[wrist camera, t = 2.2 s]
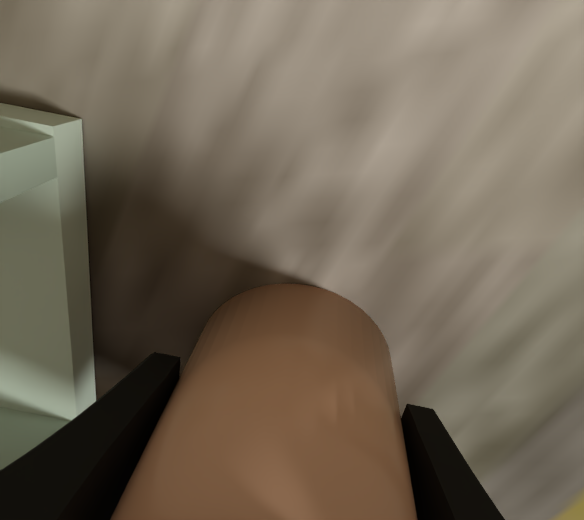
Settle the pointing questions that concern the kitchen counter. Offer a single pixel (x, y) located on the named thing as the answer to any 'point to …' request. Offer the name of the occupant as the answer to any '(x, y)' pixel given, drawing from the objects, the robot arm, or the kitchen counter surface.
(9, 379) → the pale green shallow tray
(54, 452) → the robot arm
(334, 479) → the jar
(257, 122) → the kitchen counter surface
